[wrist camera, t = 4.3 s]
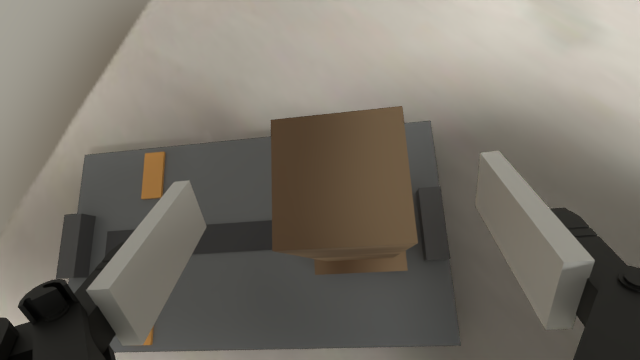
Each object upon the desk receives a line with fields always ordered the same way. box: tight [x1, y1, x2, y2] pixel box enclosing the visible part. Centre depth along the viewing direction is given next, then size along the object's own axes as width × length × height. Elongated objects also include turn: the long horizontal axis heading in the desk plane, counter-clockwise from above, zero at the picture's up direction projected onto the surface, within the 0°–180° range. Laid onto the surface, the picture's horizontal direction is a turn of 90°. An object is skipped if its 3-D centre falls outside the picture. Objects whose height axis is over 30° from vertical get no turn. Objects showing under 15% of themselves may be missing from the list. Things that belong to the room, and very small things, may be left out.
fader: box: [271, 106, 418, 275], centre depth 15 cm, size 5×5×12 cm
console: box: [56, 121, 461, 352], centre depth 22 cm, size 24×13×3 cm, turn 93°
